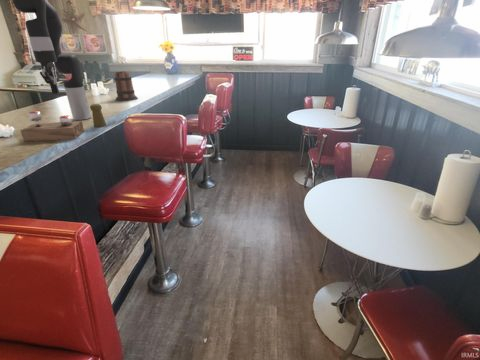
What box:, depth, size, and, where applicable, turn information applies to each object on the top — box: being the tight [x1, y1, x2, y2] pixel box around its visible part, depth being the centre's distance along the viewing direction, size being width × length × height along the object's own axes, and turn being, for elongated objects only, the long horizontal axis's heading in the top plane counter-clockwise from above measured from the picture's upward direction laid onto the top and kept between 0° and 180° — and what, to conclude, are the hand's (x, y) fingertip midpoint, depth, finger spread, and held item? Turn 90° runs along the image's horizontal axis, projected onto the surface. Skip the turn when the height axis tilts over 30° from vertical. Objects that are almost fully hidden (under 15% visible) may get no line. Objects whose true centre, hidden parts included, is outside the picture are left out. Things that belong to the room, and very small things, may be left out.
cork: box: [89, 103, 107, 128], centre depth 144 cm, size 6×6×11 cm
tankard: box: [114, 71, 139, 102], centre depth 217 cm, size 24×17×20 cm
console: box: [20, 120, 85, 143], centre depth 129 cm, size 12×21×5 cm, turn 99°
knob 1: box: [27, 110, 43, 127], centre depth 126 cm, size 4×4×7 cm
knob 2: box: [58, 115, 73, 126], centre depth 128 cm, size 4×4×7 cm
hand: (56, 93), depth 123 cm, fingers closed
